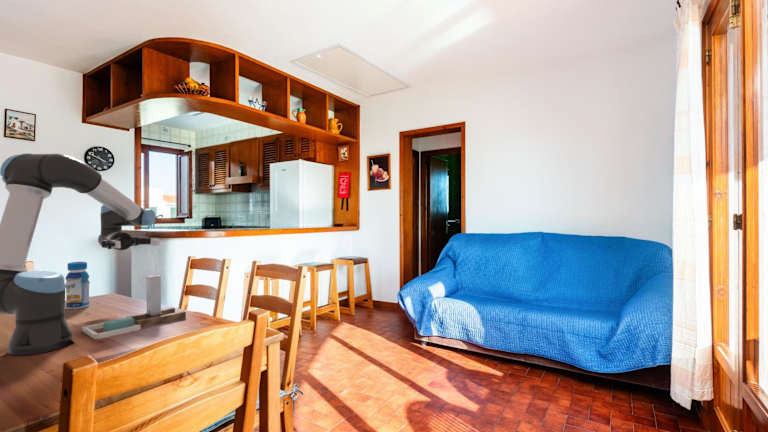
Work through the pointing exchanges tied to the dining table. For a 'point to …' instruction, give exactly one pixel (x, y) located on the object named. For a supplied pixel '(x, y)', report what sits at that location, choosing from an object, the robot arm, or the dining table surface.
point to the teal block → (126, 322)
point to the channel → (158, 318)
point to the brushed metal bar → (153, 296)
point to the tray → (94, 335)
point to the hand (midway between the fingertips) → (139, 243)
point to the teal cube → (112, 325)
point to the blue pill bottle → (77, 286)
